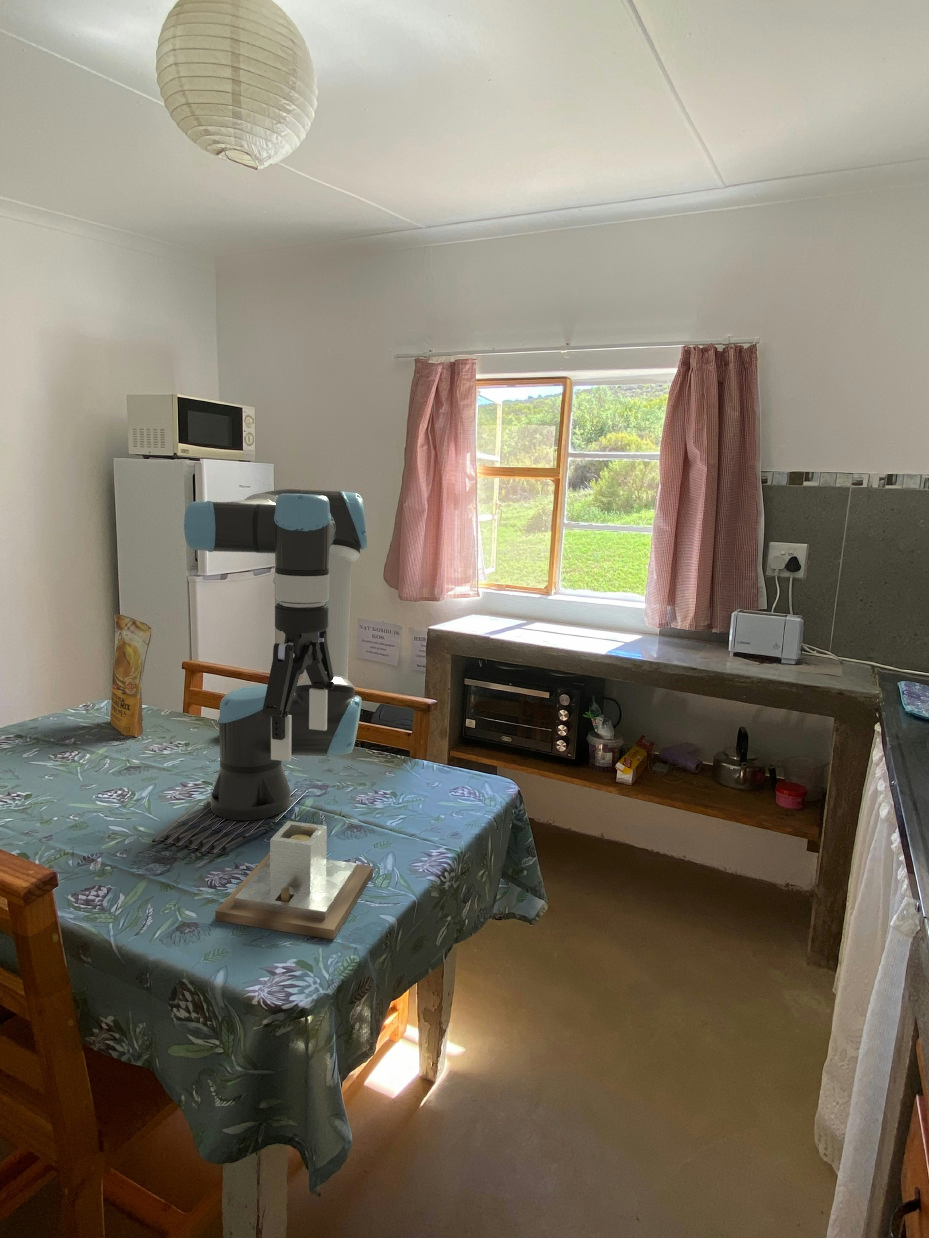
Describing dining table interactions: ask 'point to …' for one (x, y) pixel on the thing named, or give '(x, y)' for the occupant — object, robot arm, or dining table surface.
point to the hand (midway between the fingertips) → (300, 743)
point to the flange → (298, 874)
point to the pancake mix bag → (128, 674)
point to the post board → (290, 921)
